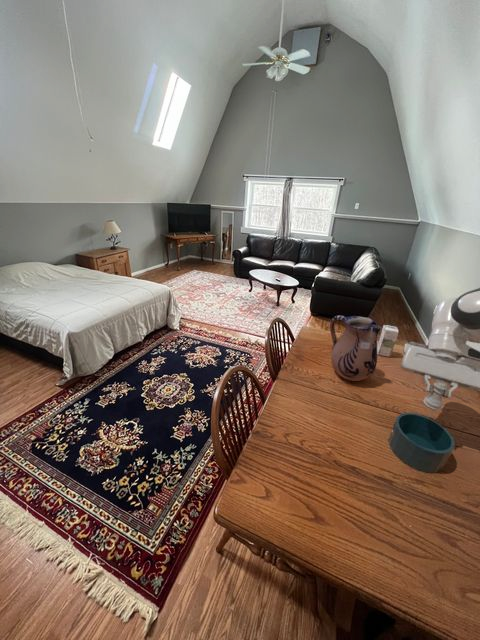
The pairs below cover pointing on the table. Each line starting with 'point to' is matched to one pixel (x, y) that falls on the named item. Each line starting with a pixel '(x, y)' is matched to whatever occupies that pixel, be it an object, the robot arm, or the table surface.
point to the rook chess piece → (435, 396)
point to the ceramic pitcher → (355, 348)
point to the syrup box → (387, 340)
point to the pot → (421, 442)
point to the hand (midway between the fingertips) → (437, 394)
